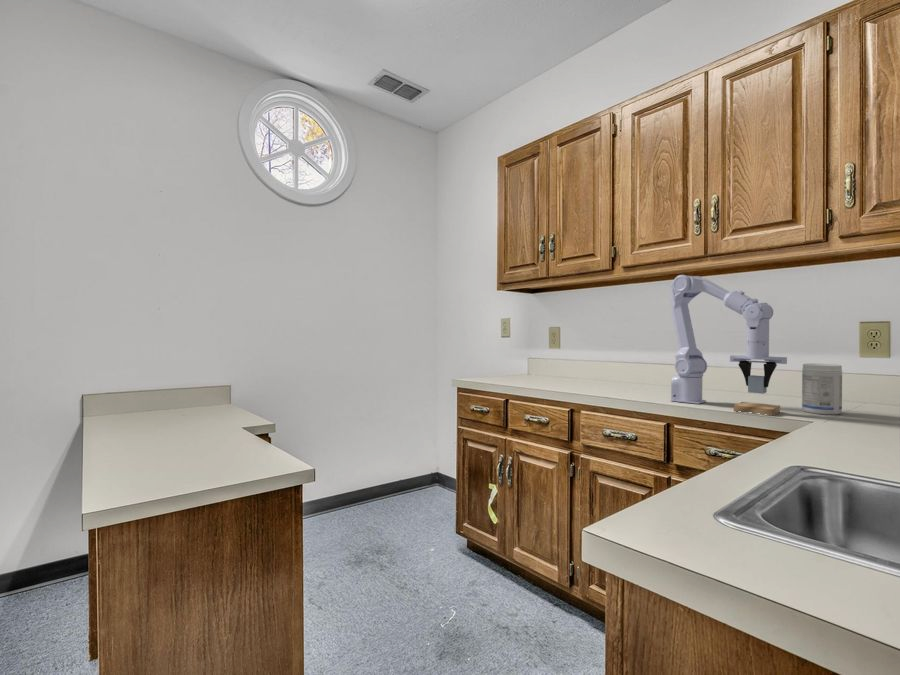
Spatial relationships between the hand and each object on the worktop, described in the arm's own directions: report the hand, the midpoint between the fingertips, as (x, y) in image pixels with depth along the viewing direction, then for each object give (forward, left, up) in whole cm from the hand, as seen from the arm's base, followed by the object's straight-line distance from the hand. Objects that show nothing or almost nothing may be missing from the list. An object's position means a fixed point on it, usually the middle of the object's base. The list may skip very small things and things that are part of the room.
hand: (757, 386), depth 141 cm
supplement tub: (+14, +13, -8) cm, 21 cm away
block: (0, 0, -2) cm, 2 cm away
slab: (0, 0, -8) cm, 8 cm away
